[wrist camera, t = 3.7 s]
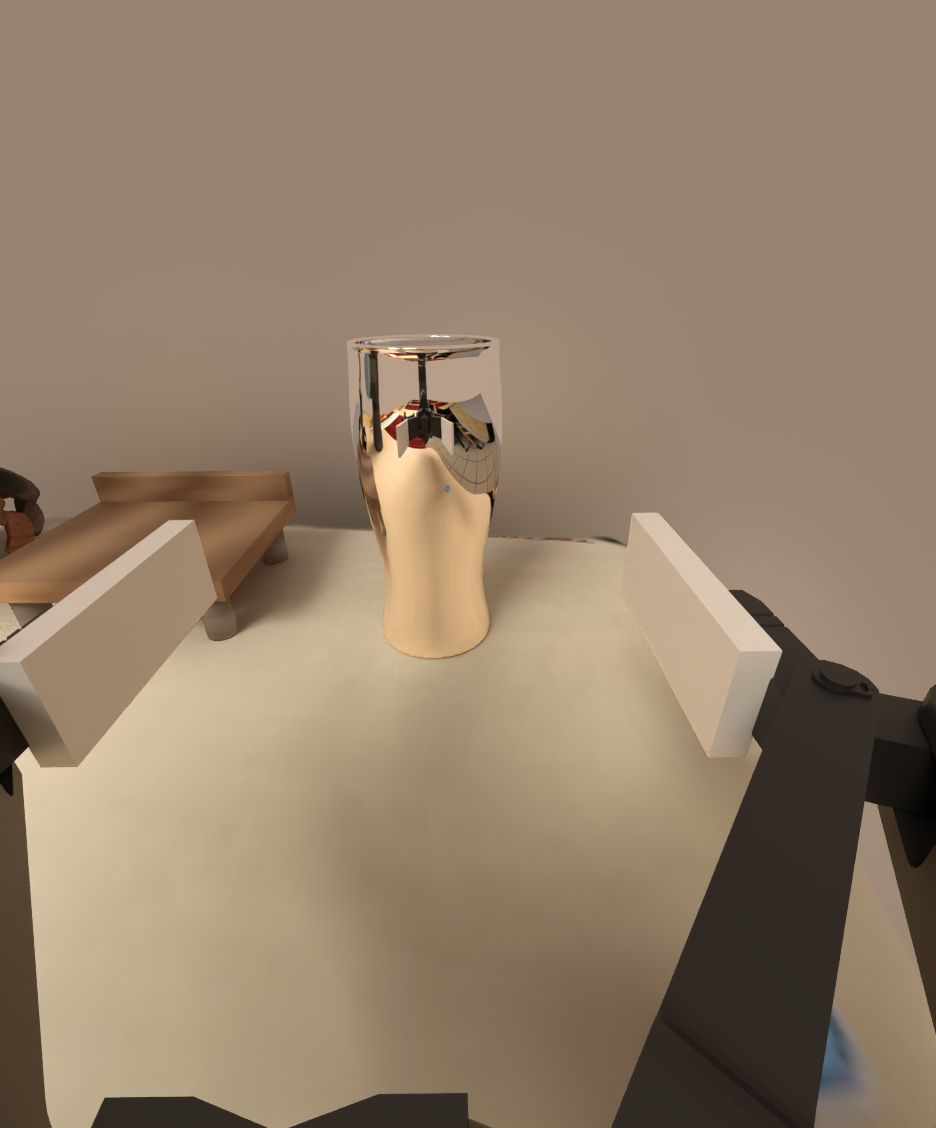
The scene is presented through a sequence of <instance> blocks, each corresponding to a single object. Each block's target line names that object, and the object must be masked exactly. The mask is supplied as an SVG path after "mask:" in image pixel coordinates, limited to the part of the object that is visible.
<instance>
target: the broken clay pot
mask: <svg viewBox="0 0 936 1128" xmlns="http://www.w3.org/2000/svg"><path fill="white" fill-rule="evenodd" d="M39 496H40V491H39V489H38V488H37V487H35V485H34V484H33V483H32V482H31V481H29V480H27V479H25V478H24V477H22V476H20V475H18V474H16V473H14V472H12V471H9V470H6V469H3V468H1V467H0V525H2V526H4V527H5V530H6V534H7V543H6V549H5V551H6V553H7V554H11V553H13V552H14V551H16V550H18V549H20V548H21V547H23V546H25V545H27V544H28V543H30V542H32V541H34V536H38V535H39V534H40V533H41V530H42V528H43V524H44V515H43V512H42V511H41V509H40V507H39V506H38V504H37V503H36V502H37V499H38V497H39ZM9 497H11V498H14V504H15V509H16V511H4V510H3V508H4V505H5V501H4V500H3V499H6V498H9Z"/></svg>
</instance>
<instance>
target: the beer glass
mask: <svg viewBox="0 0 936 1128" xmlns="http://www.w3.org/2000/svg"><path fill="white" fill-rule="evenodd" d="M499 343H500V341H499V340H498V339H497V338H493V337H486V336H474V335H445V334H444V335H443V334H428V335H427V334H422V335H391V336H375V337H365V338H358V339H352V340H349V341H348V342H347V349H348V365H349V398H350V418H351V429H352V441H353V447H354V454H355V461H356V467H357V472H358V476H359V480H360V485H361V489H362V493H363V497H364V500H365V504H366V507H367V511H368V514H369V517H370V521H371V524H372V527H373V531H374V534H375V537H376V540H377V544H378V547H379V551H380V555H381V558H382V562H383V567H384V573H385V583H386V599H385V608H384V616H383V633H384V636H385V638H386V640H387V641H388V642H389V643H390V644H391V645H392V646H393V647H394V648H396V649H397V650H399V651H401V652H403V653H405V654H408V655H411V656H415V657H421V658H445V657H450V656H455V655H458V654H461V653H464V652H466V651H468V650H470V649H472V648H473V647H475V646H476V645H478V644H479V643H480V642H481V641H482V640H483V639H484V638H485V636H486V634H487V632H488V629H489V613H488V608H487V603H486V598H485V593H484V586H483V561H484V553H485V547H486V542H487V537H488V532H489V527H490V522H491V518H492V512H493V508H494V502H495V497H496V492H497V486H498V478H499V472H500V465H501V448H502V398H501V397H502V396H501V377H500V360H499Z"/></svg>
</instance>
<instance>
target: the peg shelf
mask: <svg viewBox="0 0 936 1128" xmlns="http://www.w3.org/2000/svg"><path fill="white" fill-rule="evenodd" d="M92 480H93V482H94V485H95V488H96V490H97V493H98V495H99V498H100V501H101V502H100V503H98V504H97V505H95V506H93V507H91V508H90V509H88V510H86V511H84V512H83V513H81V514H79V515H77V516H76V517H74V518H72V519H70V520H69V521H67V522H65V523H63V524H62V525H60V526H58V527H56V528H55V529H53V530H51V531H49V532H48V533H46V534H44V535H42V536H41V537H39V538H37V539H35V540H34V541H32V542H30V543H28V544H27V545H25V546H23V547H21V548H20V549H18V550H16V551H14V552H13V553H11V554H9V555H7V556H6V557H4V558H2V559H0V603H9V604H10V606H11V608H12V610H13V612H14V614H15V616H16V618H17V619H18V621H19V623H20V625H21V627H22V626H23V625H25V624H26V623H27V622H29V621H30V620H31V619H33V618H34V617H35V616H37V615H38V614H39V613H41V612H43V611H45V610H48V609H50V608H52V607H53V605H52V603H59V602H60V601H61V600H63V599H64V598H65V597H67V596H68V595H69V594H71V593H72V592H73V591H75V590H76V589H77V588H79V587H80V586H81V585H83V584H84V583H85V582H87V581H88V580H89V579H91V578H92V577H93V576H95V575H96V574H97V573H99V572H100V571H101V570H103V569H104V568H106V567H107V566H108V565H110V564H111V563H112V562H114V561H115V560H116V559H118V558H119V557H120V556H122V555H123V554H124V553H126V552H127V551H128V550H130V549H131V548H132V547H134V546H135V545H136V544H138V543H139V542H140V541H142V540H143V539H144V538H146V537H147V536H148V535H150V534H151V533H152V532H154V531H155V530H156V529H158V528H159V527H160V526H162V525H163V524H164V523H166V522H167V521H168V520H195V524H196V527H197V531H198V534H199V537H200V541H201V544H202V548H203V551H204V554H205V558H206V561H207V565H208V568H209V571H210V575H211V578H212V581H213V585H214V588H215V592H216V595H217V599H216V600H215V602H214V603H213V604H212V605H211V606H210V608H209V609H208V610H207V611H206V612H205V614H204V615H203V616H202V620H203V623H204V626H205V629H206V632H207V636H208V638H209V639H210V640H214V641H220V640H225V639H228V638H230V637H232V636H234V635H235V634H236V633H237V632H238V629H239V628H238V625H237V621H236V617H235V614H234V610H233V606H232V603H231V599H230V596H231V595H232V593H233V592H234V591H235V589H236V588H237V587H238V585H239V584H240V583H241V582H242V580H243V579H244V578H245V576H246V575H247V574H248V573H249V571H250V570H251V569H252V567H253V566H254V565H255V564H256V562H257V561H258V560H259V558H260V557H261V556H262V555H264V559H265V561H266V562H268V563H278V562H282V561H284V560H286V559H287V558H288V554H287V549H286V544H285V539H284V534H283V528H284V526H285V525H286V524H287V522H288V521H289V520H290V519H291V517H292V516H293V515H294V513H295V512H296V508H295V502H294V496H293V491H292V486H291V480H290V475H289V471H220V472H219V471H217V472H216V471H212V472H101V473H98V474H97V475H94V476H92Z"/></svg>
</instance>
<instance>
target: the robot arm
mask: <svg viewBox="0 0 936 1128" xmlns="http://www.w3.org/2000/svg"><path fill="white" fill-rule="evenodd" d="M620 592H621V594H622V596H623V598H624V600H625V602H626V603H627V605H628V607H629V609H630V611H631V613H632V615H633V617H634V619H635V620H636V622H637V624H638V626H639V628H640V630H641V632H642V634H643V636H644V637H645V639H646V641H647V643H648V645H649V647H650V649H651V651H652V653H653V654H654V656H655V658H656V660H657V662H658V664H659V666H660V668H661V670H662V671H663V673H664V675H665V677H666V679H667V681H668V683H669V685H670V687H671V688H672V690H673V692H674V694H675V696H676V698H677V700H678V702H679V704H680V705H681V707H682V709H683V711H684V713H685V715H686V717H687V719H688V720H689V722H690V724H691V726H692V728H693V730H694V732H695V734H696V736H697V737H698V739H699V741H700V743H701V745H702V747H703V749H704V751H705V753H706V754H707V756H708V758H731V757H745V756H746V754H747V751H748V748H749V745H750V742H751V739H752V737H754V738H755V740H756V741H757V743H758V744H759V746H760V747H761V749H762V753H761V755H760V758H759V760H758V763H757V765H756V768H755V770H754V773H753V775H752V778H751V780H750V783H749V785H748V788H747V790H746V793H745V795H744V798H743V800H742V803H741V805H740V808H739V811H738V813H737V816H736V818H735V821H734V823H733V826H732V828H731V831H730V833H729V836H728V838H727V841H726V843H725V846H724V848H723V851H722V853H721V856H720V858H719V861H718V863H717V866H716V868H715V871H714V874H713V876H712V879H711V881H710V884H709V886H708V889H707V891H706V894H705V896H704V899H703V901H702V904H701V906H700V909H699V911H698V914H697V916H696V919H695V921H694V924H693V926H692V929H691V931H690V934H689V936H688V939H687V942H686V944H685V947H684V949H683V952H682V954H681V957H680V959H679V962H678V964H677V967H676V969H675V972H674V974H673V977H672V979H671V982H670V984H669V987H668V989H667V992H666V994H665V997H664V999H663V1002H662V1004H661V1007H660V1009H659V1012H658V1014H657V1016H656V1018H655V1020H654V1022H653V1025H652V1027H651V1030H650V1032H649V1035H648V1037H647V1040H646V1042H645V1045H644V1047H643V1049H642V1052H641V1054H640V1057H639V1059H638V1062H637V1065H636V1067H635V1070H634V1072H633V1075H632V1077H631V1080H630V1082H629V1085H628V1087H627V1090H626V1092H625V1095H624V1097H623V1100H622V1102H621V1105H620V1107H619V1110H618V1112H617V1115H616V1117H615V1120H614V1122H613V1125H612V1127H611V1128H814V1123H815V1113H816V1106H817V1100H818V1093H819V1087H820V1081H821V1074H822V1068H823V1062H824V1055H825V1049H826V1043H827V1036H828V1030H829V1023H830V1017H831V1011H832V1004H833V998H834V992H835V985H836V979H837V973H838V966H839V960H840V954H841V947H842V941H843V934H844V928H845V922H846V915H847V909H848V903H849V896H850V890H851V884H852V877H853V871H854V865H855V858H856V852H857V845H858V839H859V833H860V826H861V820H862V813H863V807H864V801H866V802H871V803H874V804H877V805H878V809H879V813H880V817H881V820H882V824H883V828H884V832H885V836H886V840H887V844H888V848H889V852H890V856H891V860H892V864H893V868H894V871H895V876H896V880H897V883H898V887H899V891H900V895H901V899H902V903H903V907H904V911H905V915H906V919H907V922H908V927H909V931H910V935H911V938H912V942H913V946H914V950H915V954H916V958H917V962H918V966H919V970H920V974H921V978H922V982H923V986H924V990H925V993H926V997H927V1001H928V1005H929V1009H930V1013H931V1017H932V1021H933V1025H934V1029H935V1033H936V685H934V686H933V687H932V688H930V690H929V692H928V693H927V695H926V697H925V699H924V701H923V702H922V701H917V700H912V699H906V698H901V697H896V696H891V695H885V694H881V693H879V690H878V689H877V687H876V686H875V685H874V684H873V683H872V682H871V681H870V680H869V679H868V678H866V677H865V676H863V675H862V674H860V673H859V672H857V671H855V670H853V669H850V668H848V667H846V666H844V665H841V664H837V663H834V662H829V661H826V660H818V659H817V658H816V657H815V656H814V654H812V653H811V651H810V650H809V649H808V648H807V647H806V646H805V645H804V644H803V643H802V642H801V641H800V640H799V639H798V638H797V637H796V636H795V635H794V634H793V633H792V632H791V631H790V630H789V629H788V628H787V627H784V624H783V623H782V622H781V621H780V620H779V619H778V618H777V617H776V616H775V617H774V614H773V613H772V612H771V611H770V610H769V609H768V608H767V606H766V605H765V604H764V603H762V601H760V600H758V599H757V598H755V597H753V596H752V595H750V594H748V593H746V592H745V591H743V590H727V589H726V588H725V586H723V584H722V583H721V582H720V581H719V580H718V579H717V578H716V576H715V575H714V574H713V573H712V572H711V571H710V570H709V569H708V568H707V567H706V565H705V564H704V563H703V562H702V561H701V560H700V559H699V558H698V557H697V555H696V554H695V553H694V552H693V551H692V550H691V549H690V548H689V547H688V545H687V544H686V543H685V542H684V541H683V540H682V539H681V538H680V537H679V535H678V534H677V533H676V532H675V531H674V530H673V529H672V528H671V527H670V525H669V524H668V523H667V522H666V521H665V520H664V519H663V518H662V517H661V515H660V514H659V513H632V518H631V525H630V532H629V538H628V545H627V552H626V558H625V565H624V571H623V578H622V585H621V591H620ZM216 599H217V595H216V592H215V588H214V585H213V581H212V578H211V575H210V571H209V568H208V565H207V561H206V558H205V554H204V551H203V548H202V544H201V541H200V537H199V534H198V531H197V527H196V524H195V520H168V521H167V522H166V523H164V524H163V525H162V526H160V527H159V528H158V529H156V530H155V531H154V532H152V533H151V534H150V535H148V536H147V537H146V538H144V539H143V540H142V541H140V542H139V543H138V544H136V545H135V546H134V547H132V548H131V549H130V550H128V551H127V552H126V553H124V554H123V555H122V556H120V557H119V558H118V559H116V560H115V561H114V562H112V563H111V564H110V565H108V566H107V567H106V568H104V569H103V570H101V571H100V572H99V573H97V574H96V575H95V576H93V577H92V578H91V579H89V580H88V581H87V582H85V583H84V584H83V585H81V586H80V587H79V588H77V589H76V590H75V591H73V592H72V593H71V594H69V595H68V596H67V597H65V598H64V599H63V600H61V601H60V602H59V603H57V604H56V605H55V606H53V607H52V608H50V609H48V610H45V611H43V612H41V613H39V614H38V615H37V616H35V617H34V618H33V619H31V620H30V621H29V622H27V623H26V624H25V625H23V626H22V629H18V630H16V631H15V632H14V633H12V634H11V635H10V636H8V637H7V640H3V641H2V642H0V1128H52V1127H51V1124H50V1121H49V1117H48V1114H47V1108H46V1101H45V1089H44V1075H43V1061H42V1047H41V1034H40V1020H39V1006H38V992H37V978H36V964H35V950H34V936H33V922H32V908H31V894H30V881H29V867H28V853H27V839H26V825H25V811H24V797H23V783H22V774H21V772H20V770H19V768H18V767H17V765H16V764H15V762H14V761H15V760H16V759H17V758H18V757H19V756H20V755H21V754H22V753H23V752H24V751H25V750H26V749H27V748H28V747H29V749H30V750H31V752H32V754H33V755H34V757H35V759H36V760H37V762H38V763H39V765H40V767H78V766H79V764H80V763H81V762H82V761H83V760H84V758H85V757H86V756H87V755H88V754H89V752H90V751H91V750H92V749H93V748H94V746H95V745H96V744H97V743H98V741H99V740H100V739H101V738H102V737H103V735H104V734H105V733H106V732H107V731H108V729H109V728H110V727H111V726H112V725H113V723H114V722H115V721H116V720H117V719H118V717H119V716H120V715H121V714H122V713H123V711H124V710H125V709H126V708H127V706H128V705H129V704H130V703H131V702H132V700H133V699H134V698H135V697H136V696H137V694H138V693H139V692H140V691H141V690H142V688H143V687H144V686H145V685H146V684H147V682H148V681H149V680H150V679H151V678H152V676H153V675H154V674H155V673H156V671H157V670H158V669H159V668H160V667H161V665H162V664H163V663H164V662H165V661H166V659H167V658H168V657H169V656H170V655H171V653H172V652H173V651H174V650H175V649H176V647H177V646H178V645H179V644H180V643H181V641H182V640H183V639H184V638H185V637H186V635H187V634H188V633H189V632H190V630H191V629H192V628H193V627H194V626H195V624H196V623H197V622H198V621H199V620H200V618H201V617H202V616H203V615H204V614H205V612H206V611H207V610H208V609H209V608H210V606H211V605H212V604H213V603H214V602H215V600H216ZM91 1128H267V1127H264V1126H262V1125H260V1124H257V1123H255V1122H253V1121H250V1120H248V1119H245V1118H243V1117H241V1116H238V1115H236V1114H234V1113H231V1112H229V1111H226V1110H224V1109H222V1108H219V1107H217V1106H215V1105H212V1104H210V1103H207V1102H205V1101H203V1100H200V1099H198V1098H196V1097H120V1098H104V1100H103V1102H102V1105H101V1107H100V1109H99V1111H98V1114H97V1116H96V1118H95V1120H94V1122H93V1125H92V1127H91ZM290 1128H491V1127H489V1126H486V1125H484V1124H481V1123H479V1122H476V1121H474V1120H471V1119H469V1120H468V1094H467V1093H441V1094H378V1095H375V1096H373V1097H370V1098H367V1099H365V1100H362V1101H359V1102H357V1103H354V1104H351V1105H349V1106H346V1107H343V1108H341V1109H338V1110H335V1111H333V1112H330V1113H327V1114H325V1115H322V1116H319V1117H317V1118H314V1119H311V1120H309V1121H306V1122H303V1123H301V1124H298V1125H295V1126H292V1127H290Z"/></svg>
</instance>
